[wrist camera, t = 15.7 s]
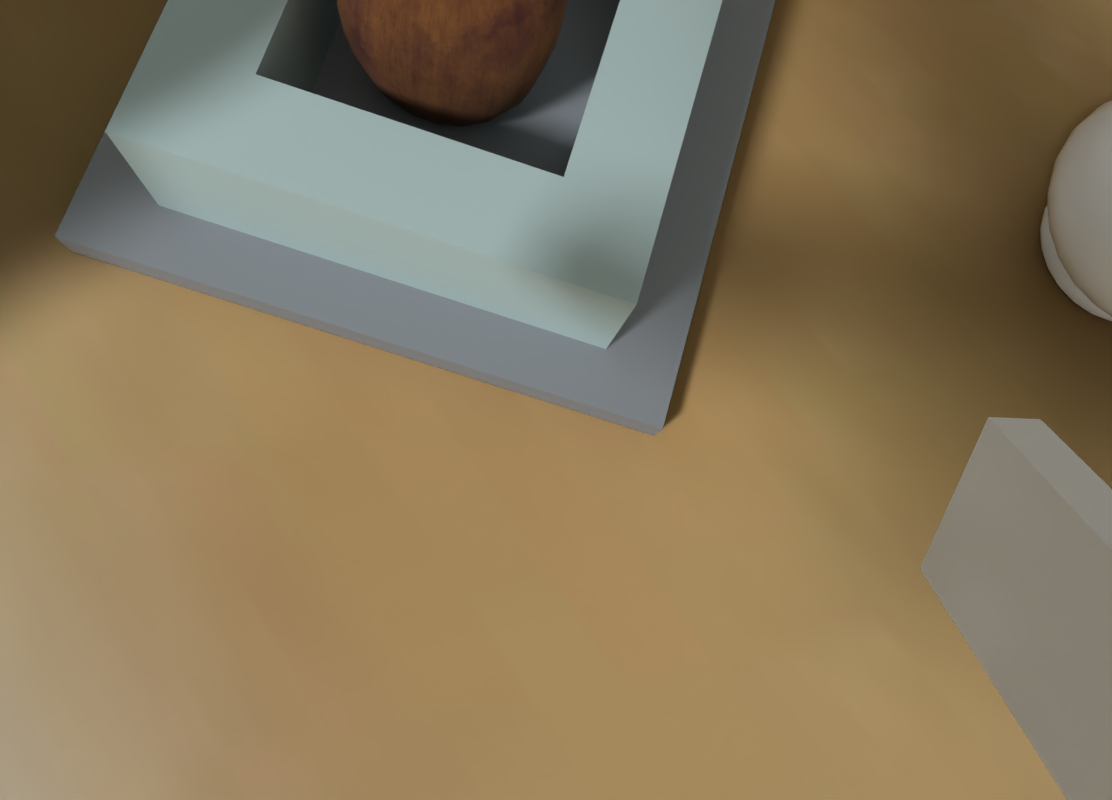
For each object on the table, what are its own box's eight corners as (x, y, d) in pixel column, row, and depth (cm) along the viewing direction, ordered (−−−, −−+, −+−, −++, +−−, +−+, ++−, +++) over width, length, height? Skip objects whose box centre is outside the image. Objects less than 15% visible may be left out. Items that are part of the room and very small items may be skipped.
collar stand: (70, 251, 28) (-22, 166, 22) (289, -213, 33) (259, -377, 27) (653, 435, 29) (704, 398, 23) (779, -38, 34) (845, -161, 28)
